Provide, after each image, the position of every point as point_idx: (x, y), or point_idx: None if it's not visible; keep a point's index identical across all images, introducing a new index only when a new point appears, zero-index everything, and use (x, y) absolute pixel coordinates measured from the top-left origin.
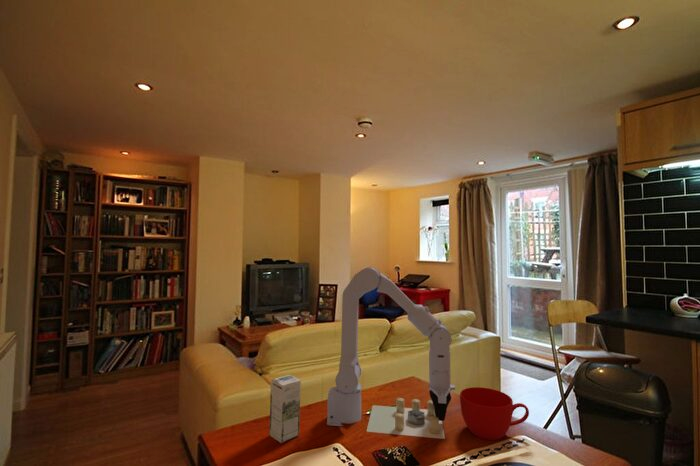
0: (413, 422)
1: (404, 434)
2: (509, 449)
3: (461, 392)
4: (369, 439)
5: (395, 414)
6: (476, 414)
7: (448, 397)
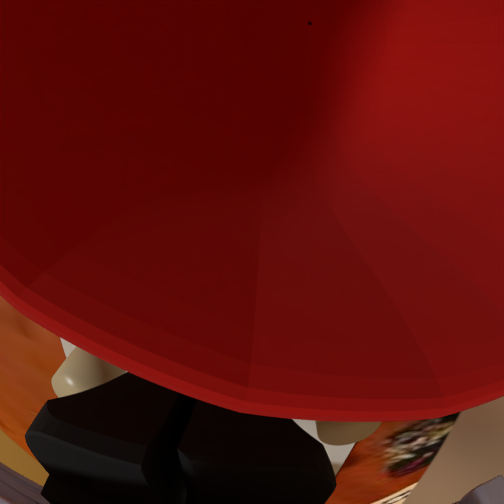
0: None
1: (344, 454)
2: None
3: (134, 335)
4: (334, 492)
5: None
6: None
7: (302, 490)
